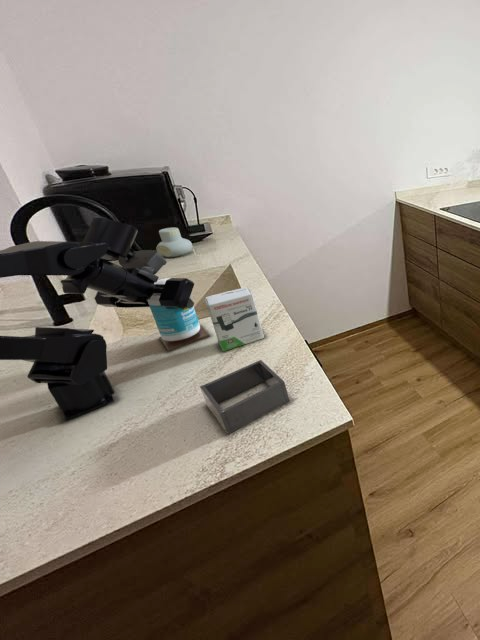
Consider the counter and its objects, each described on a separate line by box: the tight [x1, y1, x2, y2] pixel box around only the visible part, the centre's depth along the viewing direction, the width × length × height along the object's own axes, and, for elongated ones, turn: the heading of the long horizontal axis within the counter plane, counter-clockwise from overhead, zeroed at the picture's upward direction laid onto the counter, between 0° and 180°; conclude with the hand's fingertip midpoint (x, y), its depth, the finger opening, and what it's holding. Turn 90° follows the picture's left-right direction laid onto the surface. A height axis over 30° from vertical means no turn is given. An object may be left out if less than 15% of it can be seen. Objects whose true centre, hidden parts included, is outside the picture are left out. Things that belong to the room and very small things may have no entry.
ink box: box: [204, 287, 265, 352], centre depth 85 cm, size 9×5×12 cm, turn 132°
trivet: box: [159, 324, 211, 352], centre depth 89 cm, size 8×8×1 cm
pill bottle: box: [147, 277, 201, 341], centre depth 85 cm, size 8×7×14 cm
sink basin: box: [199, 359, 290, 435], centre depth 67 cm, size 10×10×4 cm
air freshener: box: [155, 227, 193, 258], centre depth 141 cm, size 11×8×10 cm
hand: (177, 304), depth 87 cm, fingers closed on pill bottle, 7 cm apart
